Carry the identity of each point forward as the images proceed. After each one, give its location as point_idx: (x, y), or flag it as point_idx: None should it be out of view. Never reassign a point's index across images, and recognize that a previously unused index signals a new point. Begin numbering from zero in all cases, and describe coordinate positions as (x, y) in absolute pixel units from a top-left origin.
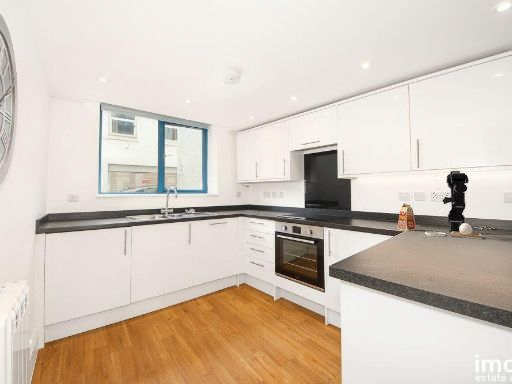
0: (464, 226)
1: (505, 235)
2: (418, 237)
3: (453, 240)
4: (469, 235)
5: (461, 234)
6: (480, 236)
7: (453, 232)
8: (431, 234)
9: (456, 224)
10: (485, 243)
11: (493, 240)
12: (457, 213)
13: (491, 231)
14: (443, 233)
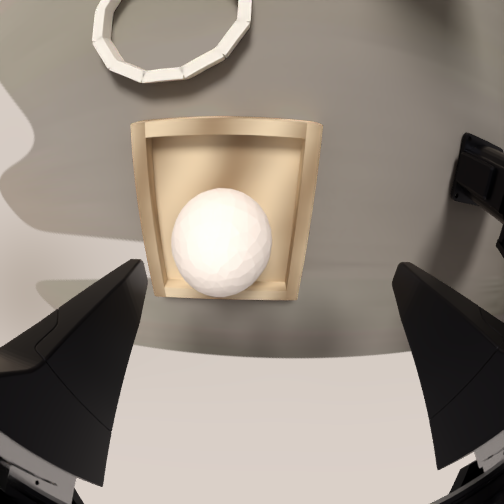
0: (173, 250)
1: (398, 349)
2: (6, 17)
3: (12, 168)
4: (144, 241)
5: (138, 196)
6: (155, 289)
7: (244, 134)
8: (102, 10)
9: (494, 196)
10: (47, 282)
11: (169, 319)
12: (73, 308)
13: (492, 307)
14: (192, 61)
